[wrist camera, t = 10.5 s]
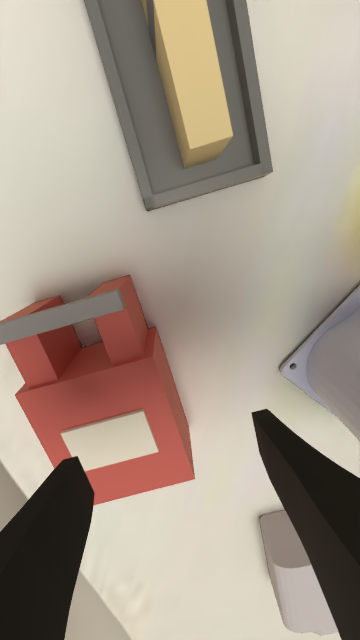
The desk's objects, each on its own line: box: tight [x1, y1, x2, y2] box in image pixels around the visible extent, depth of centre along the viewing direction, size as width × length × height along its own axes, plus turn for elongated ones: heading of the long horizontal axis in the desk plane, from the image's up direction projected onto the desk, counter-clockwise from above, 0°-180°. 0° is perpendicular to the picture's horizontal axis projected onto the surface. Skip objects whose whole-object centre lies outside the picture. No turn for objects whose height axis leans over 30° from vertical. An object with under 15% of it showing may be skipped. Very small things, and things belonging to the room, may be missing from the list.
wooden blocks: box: [141, 0, 233, 169], centre depth 13 cm, size 10×2×4 cm, turn 16°
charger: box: [260, 510, 338, 636], centre depth 26 cm, size 5×9×15 cm
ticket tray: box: [84, 0, 273, 211], centre depth 15 cm, size 13×8×2 cm, turn 16°
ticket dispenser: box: [0, 275, 195, 505], centre depth 18 cm, size 13×8×5 cm, turn 16°
